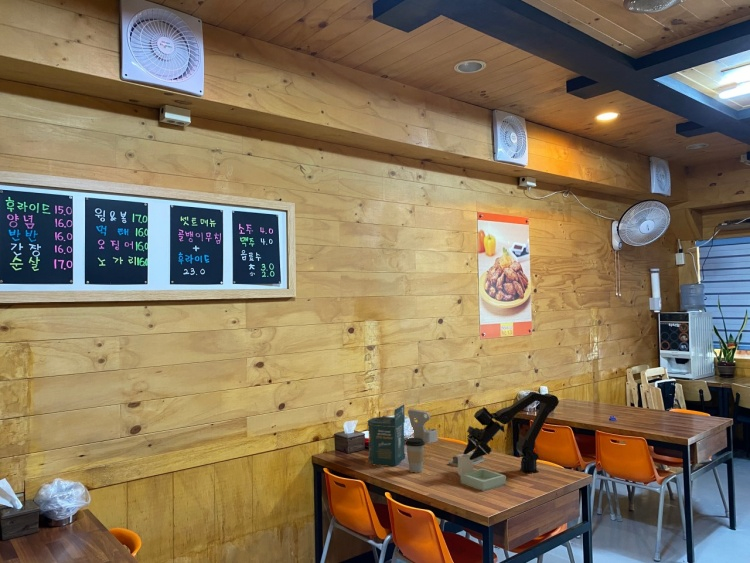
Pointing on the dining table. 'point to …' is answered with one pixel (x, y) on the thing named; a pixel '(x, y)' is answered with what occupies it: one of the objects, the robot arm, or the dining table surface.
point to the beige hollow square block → (464, 463)
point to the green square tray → (483, 479)
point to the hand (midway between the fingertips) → (467, 456)
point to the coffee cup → (415, 454)
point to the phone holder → (422, 426)
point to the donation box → (387, 439)
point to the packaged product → (476, 460)
